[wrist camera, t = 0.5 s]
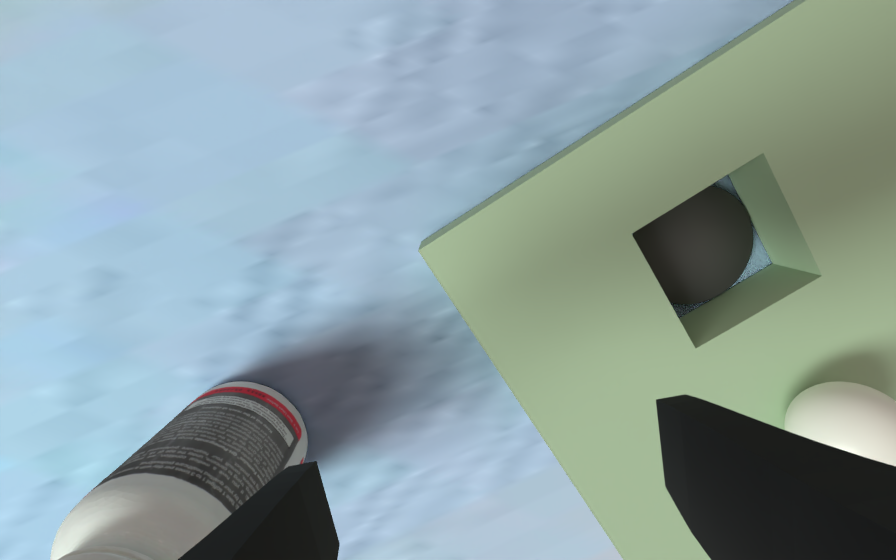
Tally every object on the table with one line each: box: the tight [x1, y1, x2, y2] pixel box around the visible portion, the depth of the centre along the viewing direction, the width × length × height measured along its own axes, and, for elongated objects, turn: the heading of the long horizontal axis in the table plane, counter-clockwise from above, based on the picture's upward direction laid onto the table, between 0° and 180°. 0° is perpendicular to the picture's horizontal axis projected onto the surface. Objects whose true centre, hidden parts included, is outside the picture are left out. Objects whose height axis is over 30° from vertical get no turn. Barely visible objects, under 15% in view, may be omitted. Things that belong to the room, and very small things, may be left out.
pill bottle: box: [50, 381, 308, 560], centre depth 15 cm, size 5×5×10 cm
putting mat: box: [418, 0, 896, 560], centre depth 18 cm, size 20×18×2 cm
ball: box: [784, 381, 896, 466], centre depth 16 cm, size 4×4×4 cm
